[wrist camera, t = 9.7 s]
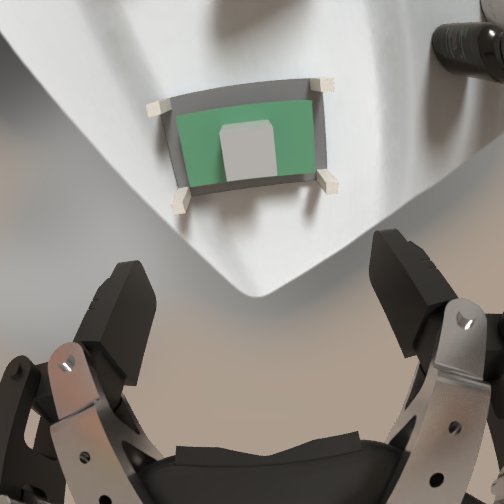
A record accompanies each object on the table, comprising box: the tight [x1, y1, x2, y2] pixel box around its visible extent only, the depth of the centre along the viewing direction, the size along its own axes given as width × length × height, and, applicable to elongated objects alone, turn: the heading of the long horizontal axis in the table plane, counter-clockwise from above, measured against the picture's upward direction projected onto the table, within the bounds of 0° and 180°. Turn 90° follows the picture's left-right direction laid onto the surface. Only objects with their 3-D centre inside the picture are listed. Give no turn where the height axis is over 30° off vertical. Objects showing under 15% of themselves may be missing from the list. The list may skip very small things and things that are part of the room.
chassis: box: [146, 78, 338, 215], centre depth 25 cm, size 16×11×5 cm
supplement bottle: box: [433, 22, 504, 84], centre depth 15 cm, size 7×7×12 cm
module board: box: [176, 100, 316, 187], centre depth 23 cm, size 12×7×5 cm, turn 97°
